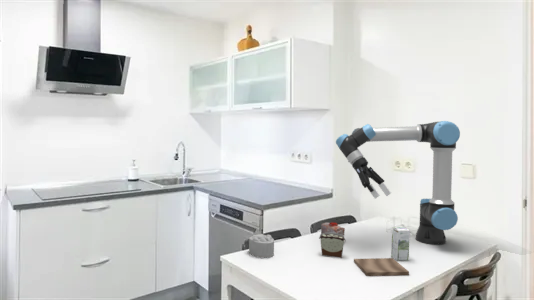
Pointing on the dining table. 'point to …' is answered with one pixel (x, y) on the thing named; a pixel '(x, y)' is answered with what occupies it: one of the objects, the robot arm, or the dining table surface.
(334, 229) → the food item
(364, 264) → the walnut board
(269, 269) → the dining table surface
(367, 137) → the robot arm
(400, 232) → the syrup box
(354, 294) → the dining table surface
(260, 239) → the lumpy-topped squat cylinder
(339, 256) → the food container
